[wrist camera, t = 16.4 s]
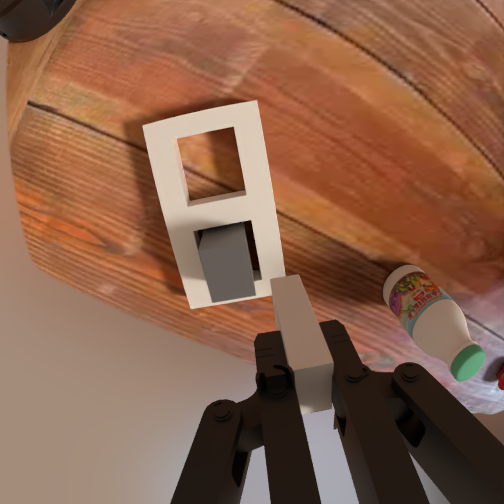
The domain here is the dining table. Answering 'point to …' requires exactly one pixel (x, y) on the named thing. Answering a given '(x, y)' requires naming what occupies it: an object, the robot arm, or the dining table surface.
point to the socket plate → (216, 207)
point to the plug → (227, 263)
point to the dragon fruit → (501, 378)
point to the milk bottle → (433, 320)
